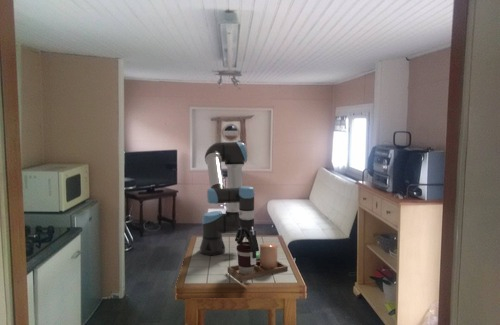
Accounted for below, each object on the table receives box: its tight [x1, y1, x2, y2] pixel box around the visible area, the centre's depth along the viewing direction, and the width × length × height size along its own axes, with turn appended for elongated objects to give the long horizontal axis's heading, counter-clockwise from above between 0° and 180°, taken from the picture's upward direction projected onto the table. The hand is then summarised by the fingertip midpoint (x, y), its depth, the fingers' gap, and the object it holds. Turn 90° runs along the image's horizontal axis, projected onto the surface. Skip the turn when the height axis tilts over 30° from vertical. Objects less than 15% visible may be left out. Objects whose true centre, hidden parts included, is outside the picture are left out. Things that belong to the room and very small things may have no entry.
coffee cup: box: [236, 241, 255, 275], centre depth 191 cm, size 10×10×15 cm
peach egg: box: [259, 242, 279, 270], centre depth 198 cm, size 9×9×12 cm
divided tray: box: [227, 260, 289, 284], centre depth 195 cm, size 14×27×3 cm, turn 119°
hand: (246, 260), depth 191 cm, fingers open, 13 cm apart
